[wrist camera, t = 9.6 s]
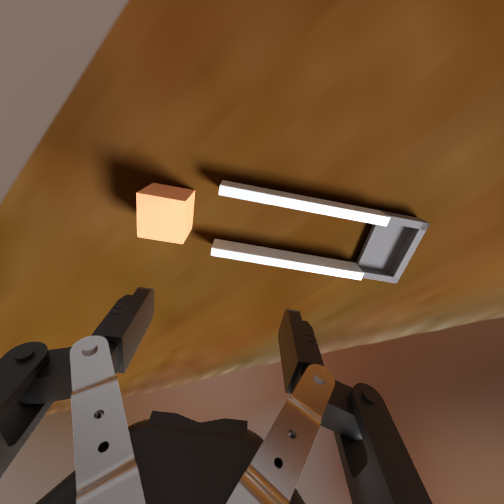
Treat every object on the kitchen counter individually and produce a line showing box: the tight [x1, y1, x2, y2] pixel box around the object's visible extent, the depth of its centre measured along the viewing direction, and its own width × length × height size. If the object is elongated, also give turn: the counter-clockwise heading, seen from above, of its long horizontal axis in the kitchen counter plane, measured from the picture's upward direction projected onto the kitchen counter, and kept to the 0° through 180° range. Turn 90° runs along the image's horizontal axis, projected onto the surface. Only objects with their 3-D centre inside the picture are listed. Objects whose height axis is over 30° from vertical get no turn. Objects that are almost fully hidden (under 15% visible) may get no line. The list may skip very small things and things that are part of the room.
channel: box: [211, 180, 390, 280], centre depth 28 cm, size 18×8×2 cm, turn 79°
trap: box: [356, 211, 430, 283], centre depth 29 cm, size 5×8×2 cm, turn 169°
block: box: [136, 183, 195, 244], centre depth 26 cm, size 4×4×4 cm
